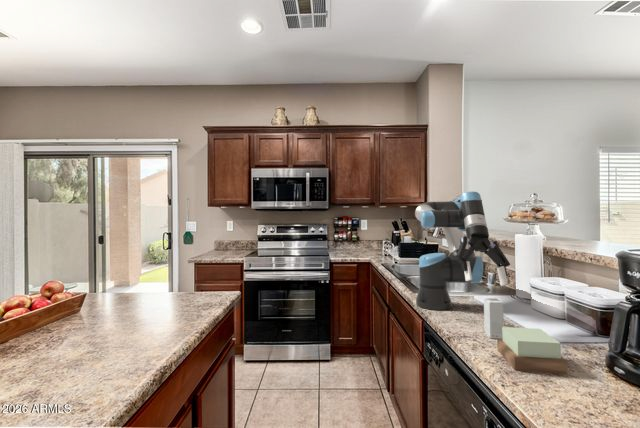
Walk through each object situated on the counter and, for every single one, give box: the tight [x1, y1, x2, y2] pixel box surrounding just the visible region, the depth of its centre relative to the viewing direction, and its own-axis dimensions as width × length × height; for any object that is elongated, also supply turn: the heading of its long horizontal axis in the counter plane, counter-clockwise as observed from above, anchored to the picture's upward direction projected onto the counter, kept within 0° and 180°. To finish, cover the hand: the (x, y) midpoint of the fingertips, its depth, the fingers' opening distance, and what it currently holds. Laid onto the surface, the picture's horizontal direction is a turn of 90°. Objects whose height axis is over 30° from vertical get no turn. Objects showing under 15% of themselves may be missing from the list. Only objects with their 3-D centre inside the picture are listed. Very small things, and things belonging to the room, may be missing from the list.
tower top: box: [502, 326, 562, 359], centre depth 84 cm, size 10×10×4 cm
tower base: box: [496, 339, 568, 375], centre depth 84 cm, size 12×12×4 cm
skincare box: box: [483, 297, 504, 340], centre depth 102 cm, size 6×4×12 cm
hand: (486, 282), depth 106 cm, fingers open, 13 cm apart
